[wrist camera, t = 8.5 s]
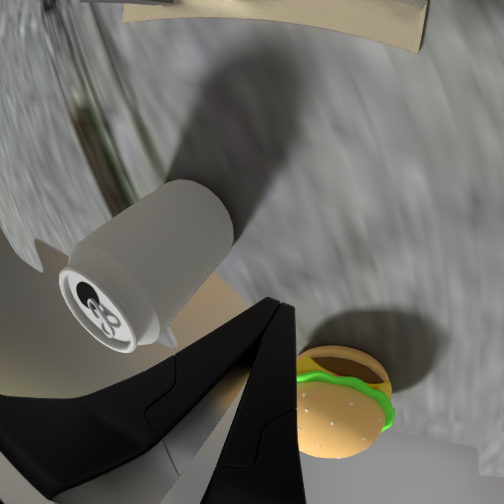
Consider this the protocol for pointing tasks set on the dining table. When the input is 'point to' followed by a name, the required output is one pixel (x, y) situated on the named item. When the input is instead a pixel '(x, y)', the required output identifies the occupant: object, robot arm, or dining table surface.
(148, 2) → the block
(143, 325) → the can
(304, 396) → the hamburger
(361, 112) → the dining table surface
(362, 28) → the beige mechanical fixture
